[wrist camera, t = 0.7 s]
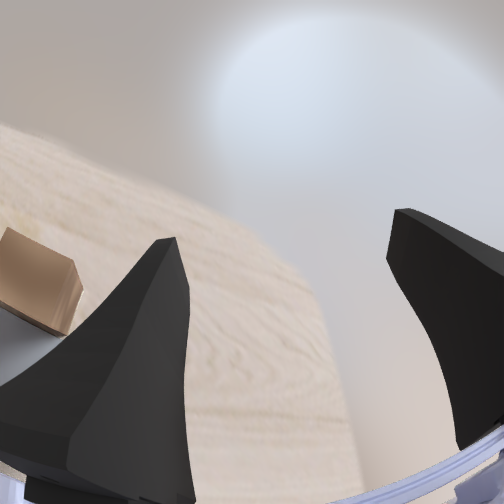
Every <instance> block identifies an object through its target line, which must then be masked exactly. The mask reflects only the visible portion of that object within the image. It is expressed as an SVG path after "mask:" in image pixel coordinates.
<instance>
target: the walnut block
mask: <svg viewBox="0 0 504 504" xmlns="http://www.w3.org/2000/svg"><path fill="white" fill-rule="evenodd" d="M83 291H84V289H83V286H82V284H81V281H80V278H79V275H78V273H77V270H76V267H75V264H74V261H73V260H72V259H70V258H68V257H66V256H63V255H61V254H59V253H57V252H55V251H53V250H51V249H49V248H47V247H45V246H43V245H41V244H39V243H37V242H35V241H33V240H31V239H29V238H28V237H26V236H24V235H22V234H20V233H18V232H16V231H14V230H12V229H11V228H9V227H7V229H6V231H5V233H4V235H3V237H2V239H1V241H0V300H1V301H2V302H4V303H6V304H7V305H9V306H11V307H13V308H14V309H16V310H18V311H20V312H22V313H23V314H25V315H27V316H29V317H31V318H33V319H35V320H37V321H39V322H40V323H42V324H44V325H46V326H48V327H50V328H52V329H55V330H57V331H59V332H61V333H63V334H65V335H68V332H69V329H70V327H71V324H72V321H73V318H74V315H75V312H76V310H77V307H78V304H79V301H80V299H81V296H82V294H83Z"/></svg>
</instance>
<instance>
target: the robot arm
mask: <svg viewBox="0 0 504 504" xmlns="http://www.w3.org/2000/svg"><path fill="white" fill-rule="evenodd" d="M386 260H387V262H388V264H389V266H390V269H391V271H392V273H393V275H394V277H395V279H396V281H397V283H398V285H399V287H400V288H401V290H402V292H403V293H404V295H405V296H406V298H407V300H408V301H409V303H410V305H411V306H412V308H413V309H414V311H415V313H416V315H417V316H418V318H419V320H420V321H421V323H422V325H423V326H424V328H425V330H426V332H427V334H428V336H429V338H430V340H431V343H432V345H433V348H434V350H435V353H436V355H437V358H438V360H439V363H440V366H441V369H442V372H443V376H444V379H445V382H446V385H447V390H448V394H449V398H450V402H451V407H452V412H453V419H454V426H455V434H456V442H457V444H458V447H459V450H460V451H461V452H459V453H457V454H456V455H454V456H452V457H450V458H448V459H446V460H444V461H442V462H440V463H438V464H436V465H434V466H432V467H430V468H428V469H426V470H423V471H421V472H419V473H417V474H414V475H412V476H410V477H407V478H405V479H402V480H400V481H398V482H395V483H392V484H389V485H387V486H384V487H381V488H378V489H375V490H372V491H369V492H366V493H363V494H360V495H357V496H353V497H350V498H346V499H343V500H339V501H335V502H331V503H327V504H405V503H408V502H410V501H412V500H415V499H417V498H419V497H421V496H423V495H426V494H428V493H430V492H432V491H434V490H436V489H438V488H440V487H442V486H444V485H446V484H447V483H449V482H451V481H453V480H455V479H456V478H458V477H460V476H462V475H463V474H465V473H467V472H468V471H470V470H472V469H473V468H475V467H477V466H478V465H480V464H481V463H483V462H484V461H486V460H487V459H489V458H490V457H492V456H493V455H494V454H496V453H497V452H499V451H500V453H499V458H498V460H497V461H495V462H494V463H492V464H490V465H489V466H487V467H485V468H484V469H482V470H480V471H478V472H477V473H475V474H473V475H472V476H470V477H468V478H467V479H465V480H464V481H462V482H461V483H460V484H458V485H456V486H455V488H454V490H455V493H456V497H455V498H453V499H451V500H449V501H447V502H445V503H443V504H504V252H501V251H499V250H497V249H495V248H493V247H490V246H488V245H486V244H484V243H482V242H480V241H478V240H476V239H474V238H472V237H470V236H468V235H466V234H464V233H463V232H461V231H459V230H457V229H455V228H453V227H451V226H449V225H447V224H445V223H443V222H441V221H439V220H437V219H435V218H433V217H431V216H428V215H426V214H424V213H422V212H419V211H416V210H414V209H410V208H406V209H396V210H395V213H394V218H393V225H392V230H391V236H390V241H389V246H388V252H387V256H386ZM189 318H190V293H189V284H188V281H187V277H186V274H185V270H184V267H183V263H182V260H181V256H180V253H179V249H178V245H177V241H176V238H175V237H172V238H165V239H159V240H156V241H155V242H154V243H153V244H152V245H151V246H150V248H149V249H148V250H147V251H146V252H145V254H144V255H143V256H142V257H141V258H140V260H139V261H138V262H137V263H136V264H135V266H134V267H133V268H132V269H131V270H130V272H129V273H128V274H127V275H126V277H125V278H124V279H123V280H122V281H121V282H120V283H119V285H118V286H117V287H116V288H115V289H114V290H113V291H112V292H111V294H110V295H109V296H108V297H107V298H106V299H105V300H104V302H103V303H102V304H101V305H100V306H99V307H98V308H97V309H96V310H95V311H94V312H93V313H92V314H91V315H90V316H89V317H88V318H87V319H86V320H85V321H84V322H83V323H82V324H81V325H80V326H79V327H78V328H77V329H75V330H74V331H73V332H72V333H71V334H70V335H69V336H67V337H66V338H65V339H64V340H63V341H62V342H60V343H59V344H58V345H57V346H56V347H55V348H54V349H52V350H51V351H50V352H49V353H47V354H46V355H45V356H44V357H42V358H41V359H40V360H38V361H37V362H36V363H34V364H33V365H32V366H30V367H29V368H27V369H26V370H25V371H23V372H22V373H20V374H19V375H17V376H16V377H14V378H13V379H11V380H10V381H8V382H6V383H5V384H3V385H2V386H0V461H2V462H4V463H5V464H7V465H9V466H11V467H12V468H14V469H16V470H18V471H20V472H22V473H24V474H26V475H27V478H26V483H24V482H21V481H19V480H17V479H15V478H12V477H10V476H8V475H5V474H3V473H1V472H0V504H194V503H195V502H196V497H195V492H194V486H193V481H192V475H191V468H190V461H189V453H188V444H187V434H186V422H185V406H184V370H185V359H186V348H187V338H188V328H189ZM500 426H501V427H500ZM497 428H498V429H497ZM496 429H497V430H496ZM494 430H495V431H494ZM493 431H494V432H493ZM491 432H492V433H491ZM490 433H491V434H490ZM488 434H489V435H488ZM485 436H486V437H485ZM482 438H483V439H482ZM480 439H481V440H480ZM479 440H480V441H479ZM477 441H478V442H477ZM475 442H476V443H475ZM474 443H475V444H474ZM472 444H473V445H472ZM470 445H471V446H470ZM469 446H470V447H469ZM467 447H468V448H467ZM465 448H466V449H465ZM462 450H463V451H462Z"/></svg>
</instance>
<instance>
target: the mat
mask: <svg viewBox="0 0 504 504" xmlns="http://www.w3.org/2000/svg"><path fill="white" fill-rule="evenodd" d="M62 341H63V340H62V339H59V338H57V337H55V336H53V335H51V334H49V333H47V332H45V331H43V330H41V329H39V328H37V327H35V326H33V325H32V324H30V323H28V322H26V321H24V320H22V319H20V318H19V317H17V316H15V315H13V314H12V313H10V312H8V311H6V310H5V309H3V308H1V307H0V386H2V385H3V384H5V383H6V382H8V381H10V380H11V379H13V378H14V377H16V376H17V375H19V374H20V373H22V372H23V371H25V370H26V369H27V368H29V367H30V366H32V365H33V364H34V363H36V362H37V361H38V360H40V359H41V358H42V357H44V356H45V355H46V354H47V353H49V352H50V351H51V350H52V349H54V348H55V347H56V346H57V345H58V344H59V343H60V342H62Z"/></svg>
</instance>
